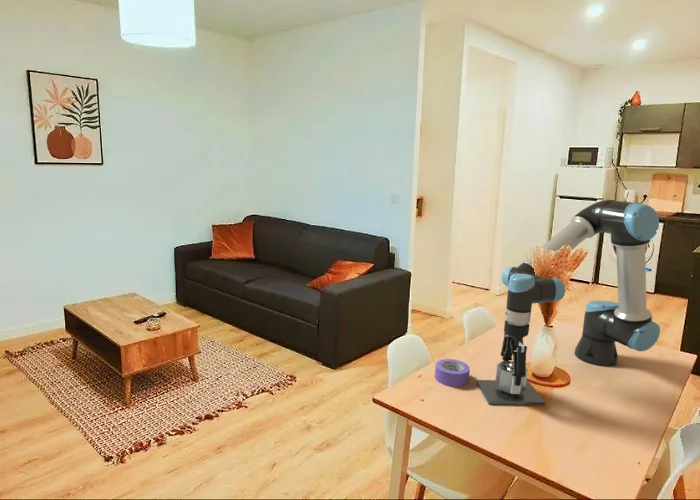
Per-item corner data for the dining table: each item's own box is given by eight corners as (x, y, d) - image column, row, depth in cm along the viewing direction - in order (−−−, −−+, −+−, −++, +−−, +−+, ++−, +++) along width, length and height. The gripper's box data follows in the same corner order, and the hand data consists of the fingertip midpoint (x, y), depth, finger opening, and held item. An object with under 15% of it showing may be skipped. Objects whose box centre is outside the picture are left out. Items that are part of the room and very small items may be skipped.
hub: (518, 380, 160) (520, 361, 159) (528, 393, 152) (530, 373, 150) (492, 380, 160) (494, 361, 159) (501, 393, 151) (503, 373, 150)
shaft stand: (527, 384, 163) (531, 355, 161) (544, 405, 150) (548, 374, 147) (476, 383, 163) (479, 354, 161) (488, 404, 149) (491, 373, 147)
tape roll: (457, 369, 173) (458, 357, 172) (475, 384, 162) (476, 371, 161) (428, 373, 169) (429, 360, 168) (445, 389, 159) (446, 375, 158)
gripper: (495, 310, 161) (489, 370, 166) (517, 334, 140) (510, 403, 145) (516, 310, 162) (510, 371, 166) (542, 335, 141) (534, 403, 145)
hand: (510, 386), depth 156 cm, fingers closed on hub, 9 cm apart
